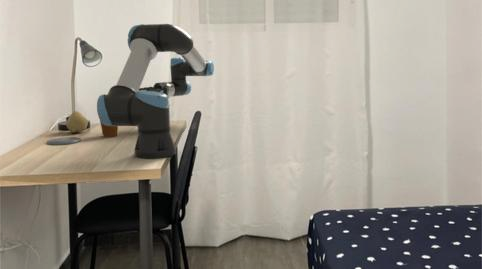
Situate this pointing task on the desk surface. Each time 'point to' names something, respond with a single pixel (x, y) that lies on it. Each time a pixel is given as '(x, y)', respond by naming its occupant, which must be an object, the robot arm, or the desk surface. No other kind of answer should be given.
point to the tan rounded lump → (76, 122)
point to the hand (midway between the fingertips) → (126, 93)
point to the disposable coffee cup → (109, 130)
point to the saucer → (64, 141)
